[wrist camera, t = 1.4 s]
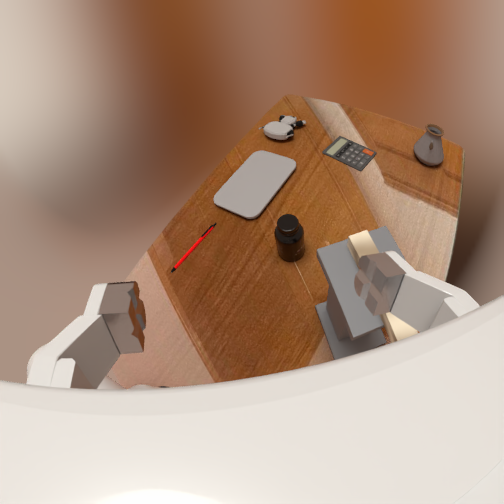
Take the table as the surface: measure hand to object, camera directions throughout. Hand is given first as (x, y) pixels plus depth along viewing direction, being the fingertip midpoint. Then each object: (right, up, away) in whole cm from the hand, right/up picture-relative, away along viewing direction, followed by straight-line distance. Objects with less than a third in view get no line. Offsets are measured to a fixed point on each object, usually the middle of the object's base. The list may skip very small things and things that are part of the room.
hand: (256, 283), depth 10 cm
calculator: (+32, +34, +77) cm, 90 cm away
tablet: (+1, +22, +77) cm, 79 cm away
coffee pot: (+57, +30, +68) cm, 94 cm away
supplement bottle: (+10, +1, +62) cm, 63 cm away
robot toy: (+12, +45, +88) cm, 100 cm away
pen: (-16, +2, +69) cm, 71 cm away
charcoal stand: (+22, -15, +49) cm, 56 cm away
